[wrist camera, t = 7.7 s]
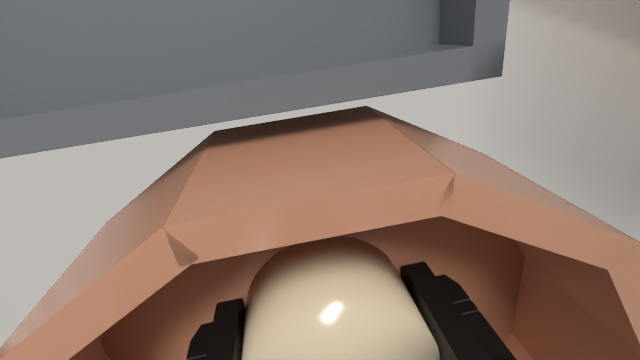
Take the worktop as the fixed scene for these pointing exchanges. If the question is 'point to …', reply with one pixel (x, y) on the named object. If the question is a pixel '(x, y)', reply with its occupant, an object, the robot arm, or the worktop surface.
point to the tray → (222, 60)
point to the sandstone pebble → (333, 306)
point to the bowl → (341, 220)
